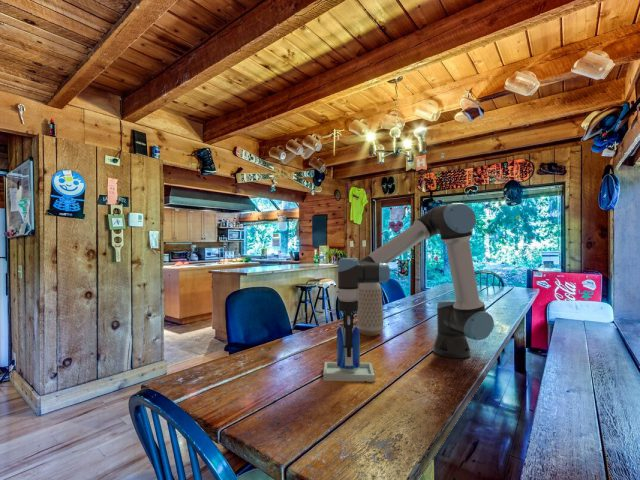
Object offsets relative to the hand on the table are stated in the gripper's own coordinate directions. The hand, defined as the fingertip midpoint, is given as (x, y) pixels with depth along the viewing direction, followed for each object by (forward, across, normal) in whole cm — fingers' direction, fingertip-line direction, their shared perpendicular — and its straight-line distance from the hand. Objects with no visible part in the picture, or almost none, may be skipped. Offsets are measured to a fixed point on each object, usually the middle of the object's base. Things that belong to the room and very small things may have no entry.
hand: (348, 360), depth 124 cm
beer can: (+3, 0, 0) cm, 3 cm away
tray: (+5, 0, 0) cm, 5 cm away
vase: (+5, -55, +13) cm, 57 cm away
